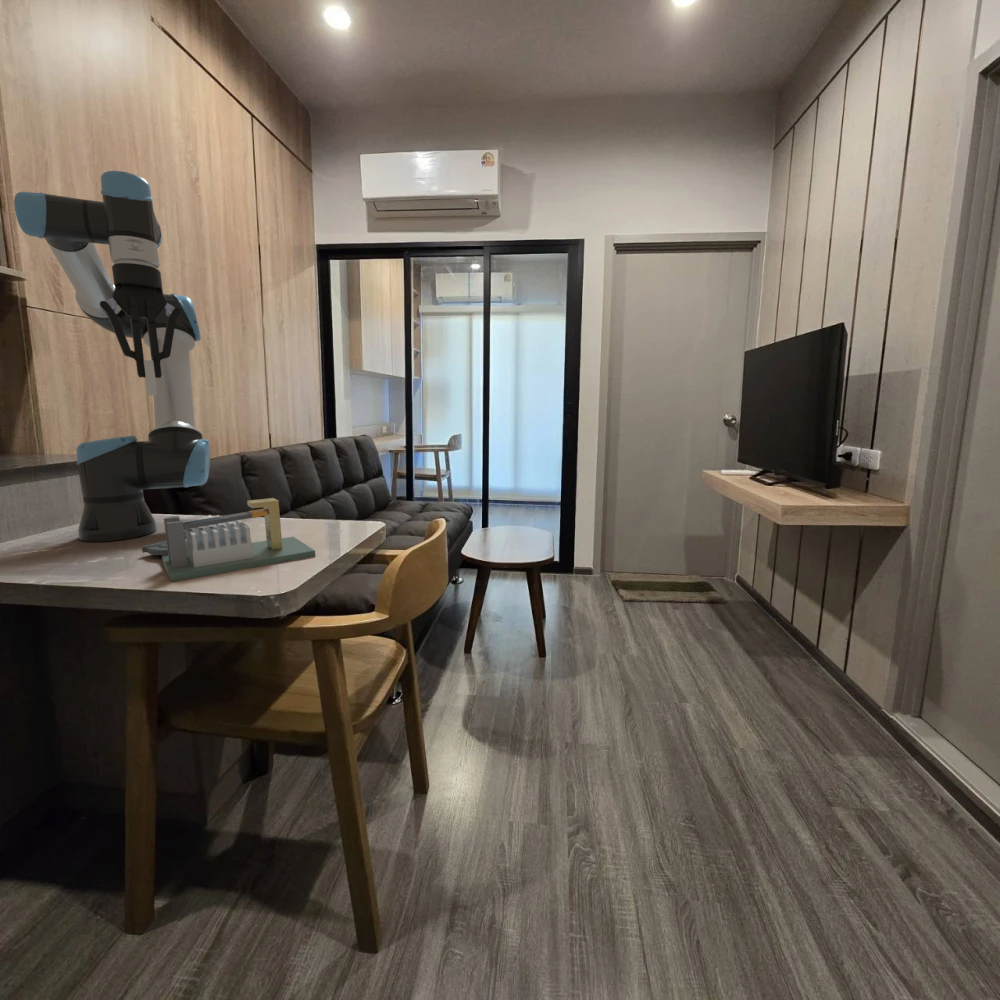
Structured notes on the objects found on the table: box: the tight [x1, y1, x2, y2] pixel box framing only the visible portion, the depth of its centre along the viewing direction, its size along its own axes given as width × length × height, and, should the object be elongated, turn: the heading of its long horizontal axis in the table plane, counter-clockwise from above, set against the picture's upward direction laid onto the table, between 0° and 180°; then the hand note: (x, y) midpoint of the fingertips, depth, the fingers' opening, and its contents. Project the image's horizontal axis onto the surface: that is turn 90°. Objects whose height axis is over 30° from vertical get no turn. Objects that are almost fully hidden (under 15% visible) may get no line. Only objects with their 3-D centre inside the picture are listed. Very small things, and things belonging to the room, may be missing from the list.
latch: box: [247, 497, 283, 550], centre depth 105 cm, size 4×5×10 cm
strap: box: [183, 508, 268, 531], centre depth 100 cm, size 3×17×1 cm, turn 127°
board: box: [161, 515, 316, 582], centre depth 103 cm, size 15×25×10 cm, turn 127°
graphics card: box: [141, 526, 217, 557], centre depth 111 cm, size 17×4×12 cm
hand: (152, 395), depth 101 cm, fingers closed
